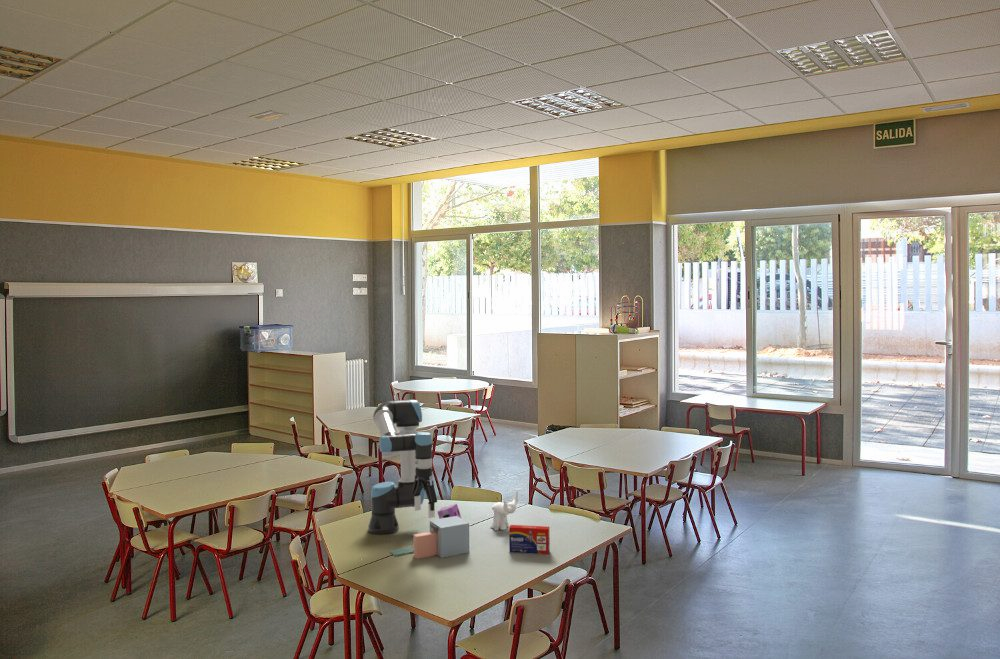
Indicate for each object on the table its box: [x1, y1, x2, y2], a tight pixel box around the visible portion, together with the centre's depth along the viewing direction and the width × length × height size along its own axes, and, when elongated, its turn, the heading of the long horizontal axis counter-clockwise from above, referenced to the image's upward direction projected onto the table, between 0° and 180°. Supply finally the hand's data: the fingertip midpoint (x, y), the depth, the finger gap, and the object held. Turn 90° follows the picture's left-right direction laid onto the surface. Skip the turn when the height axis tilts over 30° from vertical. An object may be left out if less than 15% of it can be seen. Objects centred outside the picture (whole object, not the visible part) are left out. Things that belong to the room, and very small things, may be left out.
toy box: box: [508, 524, 551, 555], centre depth 334 cm, size 18×4×12 cm, turn 79°
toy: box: [437, 503, 463, 519], centre depth 358 cm, size 11×8×15 cm
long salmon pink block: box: [413, 531, 439, 559], centre depth 332 cm, size 4×16×10 cm, turn 119°
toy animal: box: [490, 490, 519, 531], centre depth 369 cm, size 20×12×17 cm, turn 161°
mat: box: [389, 546, 414, 557], centre depth 337 cm, size 6×17×1 cm, turn 119°
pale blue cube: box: [429, 516, 470, 559], centre depth 336 cm, size 13×15×14 cm
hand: (424, 513), depth 330 cm, fingers open, 13 cm apart
